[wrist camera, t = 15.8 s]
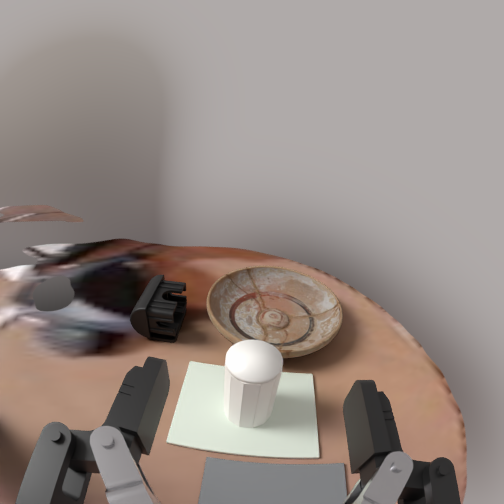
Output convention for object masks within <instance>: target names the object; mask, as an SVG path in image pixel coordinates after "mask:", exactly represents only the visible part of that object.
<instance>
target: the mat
mask: <svg viewBox="0 0 504 504" xmlns="http://www.w3.org/2000/svg"><path fill="white" fill-rule="evenodd" d="M346 497H347V491H346V480H345V470H344V463H336V464H268V463H253V462H242V461H233V460H225V459H217V458H211V457H207V458H206V464H205V469H204V475H203V480H202V485H201V491H200V496H199V502H198V504H342V503H343V502H344V500H345V499H346Z"/></svg>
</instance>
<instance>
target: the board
mask: <svg viewBox="0 0 504 504" xmlns="http://www.w3.org/2000/svg"><path fill="white" fill-rule="evenodd" d="M224 375H225V366H219V365H212V364H205V363H199V362H192V361H190V364H189V367H188V370H187V373H186V377H185V380H184V383H183V386H182V390H181V393H180V396H179V400H178V403H177V407H176V410H175V413H174V417H173V420H172V424H171V427H170V431H169V434H168V438H167V441H166V442H167V443H169V444H173V445H178V446H183V447H188V448H193V449H199V450H204V451H211V452H217V453H225V454H233V455H242V456H253V457H266V458H290V459H318V458H319V445H318V431H317V418H316V407H315V395H314V385H313V375H312V374H304V373H287V372H282V374H281V378H280V382H279V386H278V390H277V393H276V397H275V401H274V405H273V409H272V412H271V416H270V417H269V418H268V419H267V421H266V422H265V423H264V424H262V425H260V426H257V427H254V428H245V427H239V426H237V425H235V424H234V423H232V422H230V421H229V420H228V418H227V417H226V415H225V413H224Z"/></svg>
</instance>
